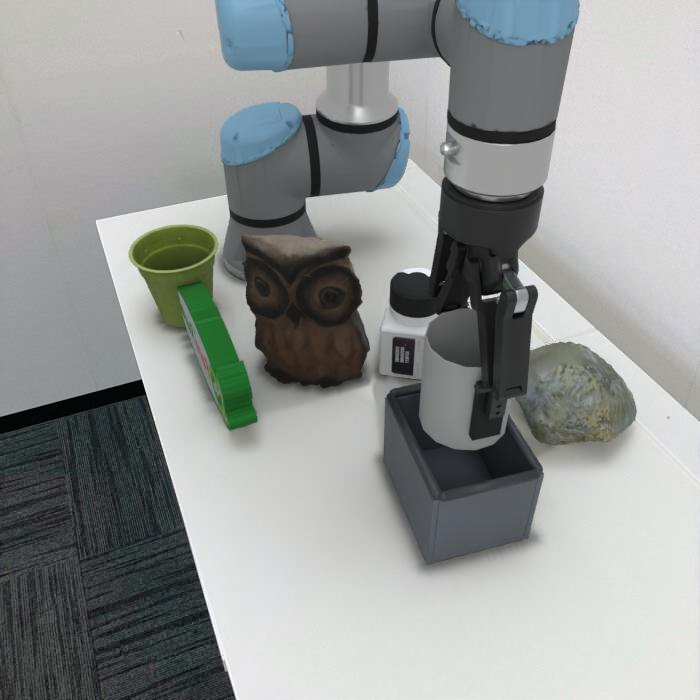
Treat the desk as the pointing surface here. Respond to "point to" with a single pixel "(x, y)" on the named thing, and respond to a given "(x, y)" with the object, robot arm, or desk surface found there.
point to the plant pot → (174, 264)
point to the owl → (305, 309)
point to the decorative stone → (574, 396)
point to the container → (406, 324)
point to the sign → (217, 356)
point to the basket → (458, 483)
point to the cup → (452, 380)
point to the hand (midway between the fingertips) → (464, 400)
